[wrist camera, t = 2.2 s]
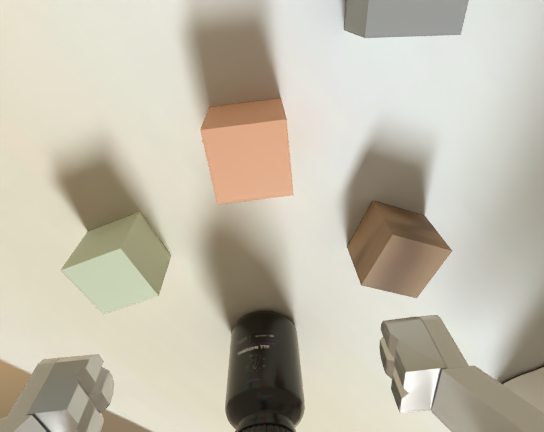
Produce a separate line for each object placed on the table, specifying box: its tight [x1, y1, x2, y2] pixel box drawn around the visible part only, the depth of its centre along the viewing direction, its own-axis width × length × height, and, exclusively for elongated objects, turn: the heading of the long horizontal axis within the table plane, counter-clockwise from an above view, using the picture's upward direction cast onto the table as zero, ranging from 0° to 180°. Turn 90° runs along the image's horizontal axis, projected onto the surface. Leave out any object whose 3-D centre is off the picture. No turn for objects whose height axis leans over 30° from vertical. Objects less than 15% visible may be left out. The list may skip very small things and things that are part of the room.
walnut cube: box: [347, 201, 452, 298], centre depth 29 cm, size 5×5×5 cm
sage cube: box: [61, 212, 171, 315], centre depth 28 cm, size 5×5×5 cm
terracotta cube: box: [201, 98, 293, 204], centre depth 24 cm, size 5×5×5 cm
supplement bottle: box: [225, 311, 305, 432], centre depth 32 cm, size 7×7×12 cm
